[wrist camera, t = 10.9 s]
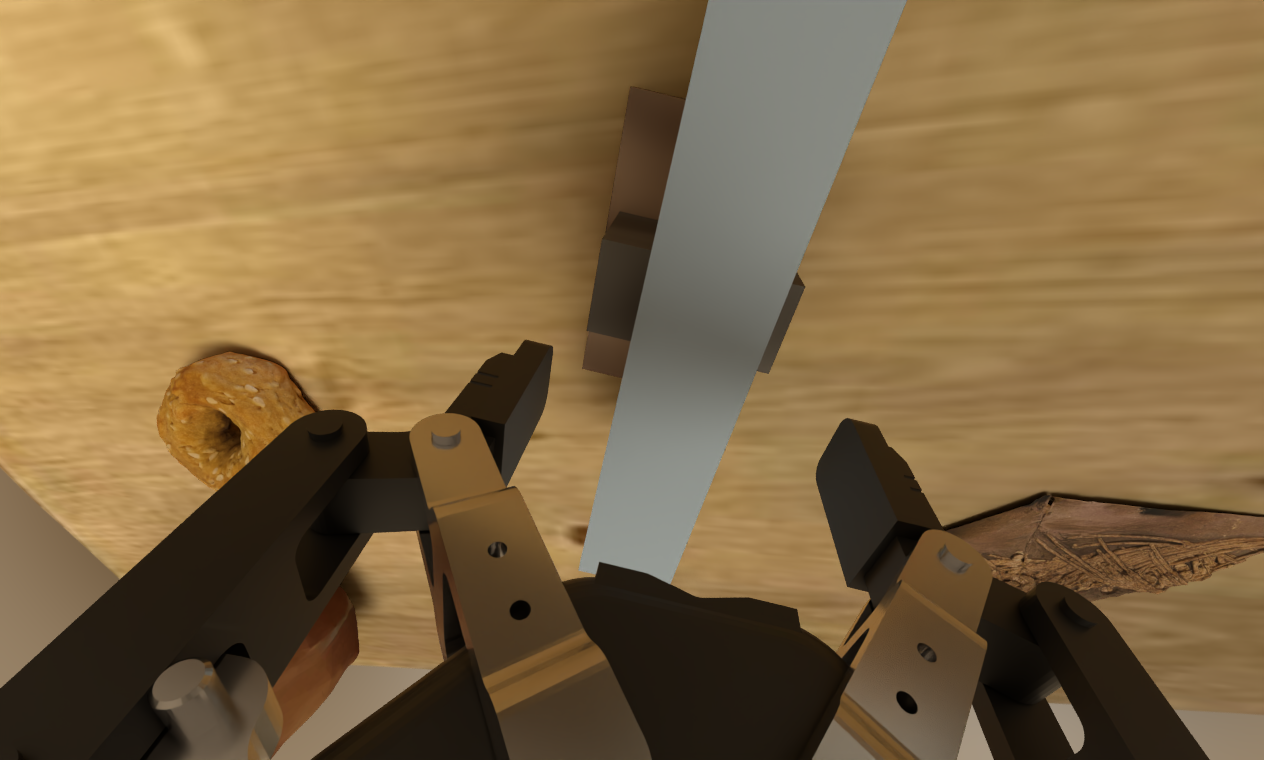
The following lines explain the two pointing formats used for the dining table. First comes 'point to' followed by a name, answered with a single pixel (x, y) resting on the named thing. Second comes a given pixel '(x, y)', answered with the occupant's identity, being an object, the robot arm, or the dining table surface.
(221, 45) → the dining table surface
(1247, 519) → the wooden fragment
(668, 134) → the ridge stand
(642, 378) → the batten
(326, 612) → the butternut squash
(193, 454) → the bagel
